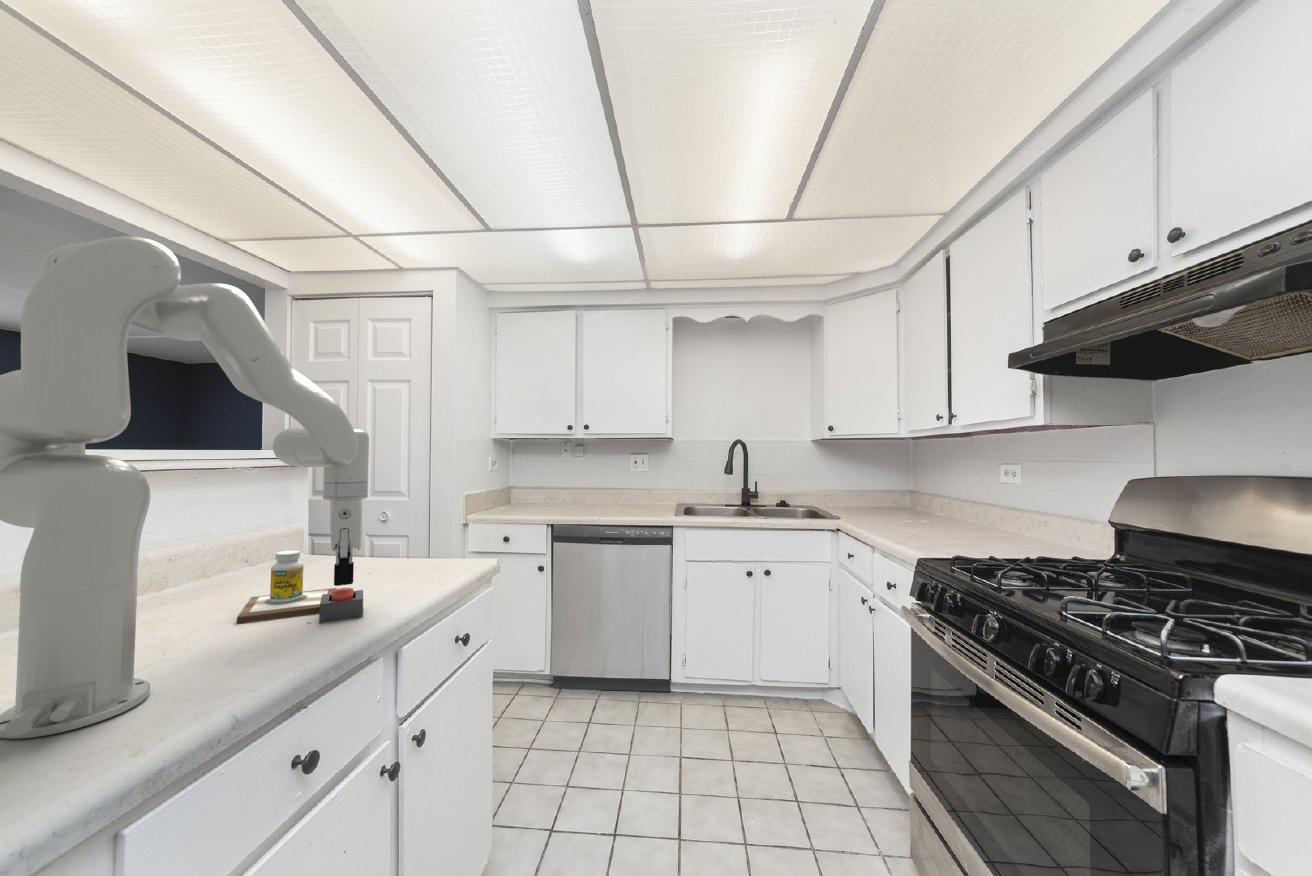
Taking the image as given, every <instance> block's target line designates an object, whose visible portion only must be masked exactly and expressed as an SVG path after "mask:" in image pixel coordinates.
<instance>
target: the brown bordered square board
mask: <svg viewBox="0 0 1312 876" xmlns="http://www.w3.org/2000/svg"><path fill="white" fill-rule="evenodd" d="M335 589H338V588H337V587H333V588H332V587H331V588H323V589H313V590H305V591H303V593H302V597H301V598H300V599H298V600H294V601H290V602H283V603H275V602H272V601H270V594H269V595H259V596H251V597H250V599H249V600H248V601H247V603H246V604H245V606H244V607H243V608H242V610H241V611H240V612H239V614H238V615H237V617H236V624H246V623H253V622H261V621H268V620H269V621H270V620H276V619H284V618H293V617H301V616H308V615H315V614H320V602H321V598H322V594H331V593H332V591H333V590H335Z"/></svg>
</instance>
